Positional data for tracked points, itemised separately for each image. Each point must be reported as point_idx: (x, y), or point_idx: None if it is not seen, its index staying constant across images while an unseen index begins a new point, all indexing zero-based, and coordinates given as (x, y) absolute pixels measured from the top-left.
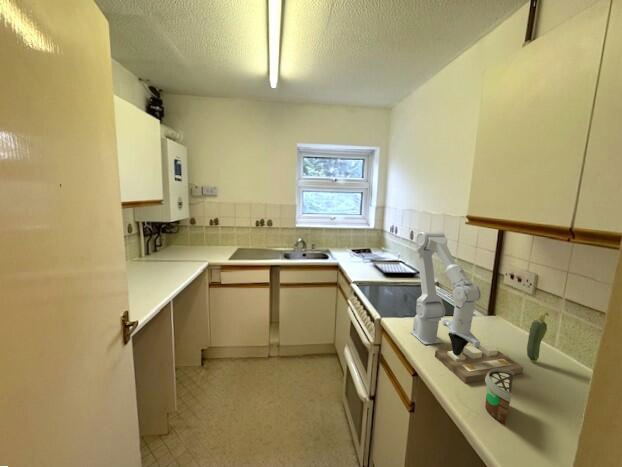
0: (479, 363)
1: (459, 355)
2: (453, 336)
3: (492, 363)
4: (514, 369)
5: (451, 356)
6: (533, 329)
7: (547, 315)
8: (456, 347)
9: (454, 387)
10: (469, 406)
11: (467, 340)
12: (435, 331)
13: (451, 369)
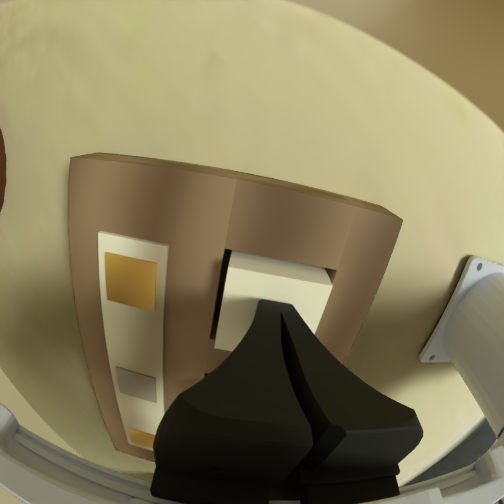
0: (151, 365)
1: (248, 326)
2: (328, 443)
3: (142, 409)
4: (107, 427)
5: (283, 269)
6: None
7: None
8: (249, 341)
9: (101, 61)
10: (19, 54)
11: (109, 474)
12: (482, 369)
13: (208, 167)
